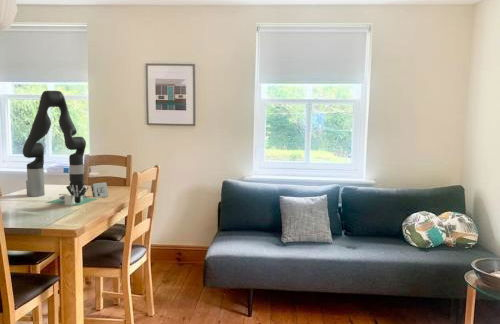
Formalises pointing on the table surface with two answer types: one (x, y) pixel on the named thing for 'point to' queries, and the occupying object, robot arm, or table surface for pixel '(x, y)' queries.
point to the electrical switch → (99, 190)
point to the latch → (68, 198)
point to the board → (73, 204)
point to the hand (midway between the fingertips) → (77, 203)
